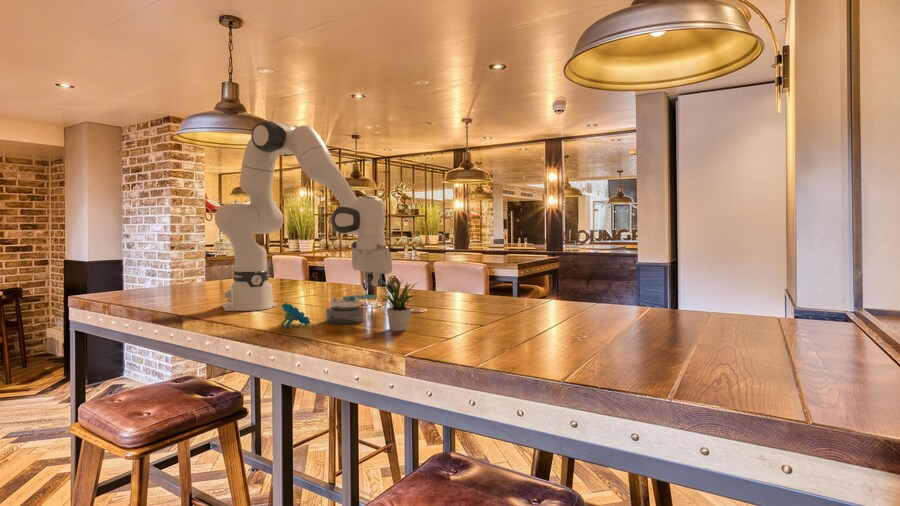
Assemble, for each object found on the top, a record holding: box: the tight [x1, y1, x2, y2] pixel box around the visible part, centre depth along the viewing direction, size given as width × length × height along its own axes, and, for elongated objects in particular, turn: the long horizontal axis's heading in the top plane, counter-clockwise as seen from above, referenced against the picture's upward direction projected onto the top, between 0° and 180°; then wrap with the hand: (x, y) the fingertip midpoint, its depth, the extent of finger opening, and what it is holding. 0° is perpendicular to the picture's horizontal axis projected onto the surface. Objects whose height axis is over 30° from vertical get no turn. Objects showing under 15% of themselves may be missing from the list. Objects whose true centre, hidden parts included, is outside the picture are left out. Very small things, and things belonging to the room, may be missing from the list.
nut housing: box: [325, 305, 365, 326], centre depth 159 cm, size 12×12×4 cm
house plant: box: [378, 278, 420, 332], centre depth 145 cm, size 14×14×16 cm
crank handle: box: [330, 272, 377, 310], centre depth 160 cm, size 16×9×11 cm, turn 132°
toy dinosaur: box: [280, 302, 311, 329], centre depth 149 cm, size 11×6×10 cm
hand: (371, 285), depth 165 cm, fingers open, 3 cm apart
